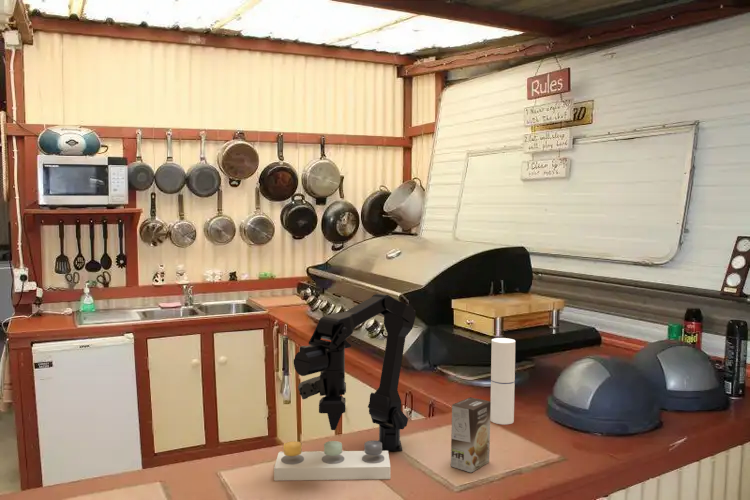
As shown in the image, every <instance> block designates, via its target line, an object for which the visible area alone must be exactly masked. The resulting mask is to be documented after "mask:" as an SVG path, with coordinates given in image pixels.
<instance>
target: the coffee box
mask: <svg viewBox="0 0 750 500" xmlns="http://www.w3.org/2000/svg"><path fill="white" fill-rule="evenodd" d="M490 412H491V400H489V401H488V400H486V399H482V398H476V397H475V398H474V397H468V398H465V399H462V400H461V401H458V402H456V403H452V404H451V435H450V436H451V437H450V438H451V439H450V440H451V442H450V443H451V444H450V445H451V446H450V447H451V448H450V467H452V468H455V469H458V470H461V471H465V472H467V473H473V472H475V471H477V470H478V469H480V468H482V467H483V466H485V465H487V464H488V463H489V462H490V449H491V447H490V446H491V445H490V444H491V443H490V442H491V441H490V440H491V420H490Z"/></svg>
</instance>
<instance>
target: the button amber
mask: <svg viewBox="0 0 750 500" xmlns="http://www.w3.org/2000/svg"><path fill="white" fill-rule="evenodd" d="M302 449H303V448H302V443H301V442H299V441H295V440H294V441H293V440H292V441H287V442H284V444H283V452H284V455H286V456H297V455H300V454H301V453H302V452H303V451H302Z"/></svg>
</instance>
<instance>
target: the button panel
mask: <svg viewBox="0 0 750 500" xmlns="http://www.w3.org/2000/svg"><path fill="white" fill-rule="evenodd" d="M276 457H277V458H276V460H275V463H274V466H273V467H274V468H273V481H274V482H275V481H276V482H277V481H332V480H334V481H338V480H339V481H340V480H342V481H343V480H345V481H347V480H350V481H351V480H391V461H390V455H389V451H382V453H381V454H379V455H368V454H366V453H365V452H364V450H342V453H341V454H339V455H336V456H330V455H326V454H325V453H324V450H323V451H320V450H319V451H317V450H316V451H315V450H313V451H302V453H301V454H300V455H297V456H286V455H284V451H278V454H277V456H276Z"/></svg>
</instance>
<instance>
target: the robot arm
mask: <svg viewBox="0 0 750 500" xmlns="http://www.w3.org/2000/svg"><path fill="white" fill-rule="evenodd" d="M378 315H382V317H383V326H384V328H385V331H386V334H387V335H386V343H385V348H384V354H383V361H382V368H381V374H380V380H379V386H378V388H377V389H376V390H375V392H370V394H369V402H368V405H367V408H368V414H369V415H370V417H371V422H372V423H373V424H376V425H378V427H379V428H378V434H379V435H378V436H379V437H378V440H377V441H379V442H381V443H382V451H388V452H393V451H394V452H395V451H397V452H398V451H400V452H401V451H403V446H402V442H401V430H404V429H405V427H407V425H408V422H409V418H408V416H406V414H404V412H403V411H402V400H401V396H400V393H399V391H398V389H399V381H400V375H401V370H402V369H401V368H402V364H403V363H402V362H403V355H404V348H405V343H406V338H407V336H408V335H409V333H411V331H412V329H413V327H414V324H415V321H416V310H415V308H414V307H413V306H412V305H411V304H406V303H404V302H402V301H400V300H398V299H395V298H394V297H393V296H391V295H390V294H386V293H385V294H384V293H375V294H373V295H372V296H371V297H370V298H367V299H366V300H364V301H362V302H360V303H359V304H357V305H354V306H353V307H351V308H349V309H347V310H345V311H343V312H342V311H341V312H335V313H330V314H328V315H323V316H321V318H320V319H318V323H317V325H316V327H315V329H314V331H313V333H312V334H311V337H310V339H309V340H308V345H301V346H299V349H298V350H299V351H298V352H296V354H295V355H294V358H293V368H294V370H295V372H296V373H297V374H298V375H299V376H301V377H305V376H306V377H307V376H309V375H313V374H316V373H320V374H319V376H315V377H314V376H313V377H312V378H309V379H306V380H303V381H301V382H299V384H298V387H297V389H298V393H299V395H300V396H301V399H302V400H307V399H308V398H310V397H312V396H315V395H317V394H319V396H321V398H320V400H319V402H318V413H319V414H327V418H328V422H329V427H330V430H331V431H335V430H336V429H337V427H338V424H339V423H340V420H341V417H342V415H343V414H344V413H346V407H347V406H346V404H347V403H346V397H344V396H345V394H346V393H347V382H346V369H345V368H346V366H345V364H346V362H345V361H346V357H345V356H346V355H345V353H346V352H345V349H349V348H351V347H352V344H351V343H349V342H348V341H347V339H348V338H349V337H351V336H352V335H353V333H354V331H355V329H356V328H357V327H358V326H360V325H362V324H364V323H366V322H367V321H369V320H370V319H373V318H374V317H375V316H378Z"/></svg>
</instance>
